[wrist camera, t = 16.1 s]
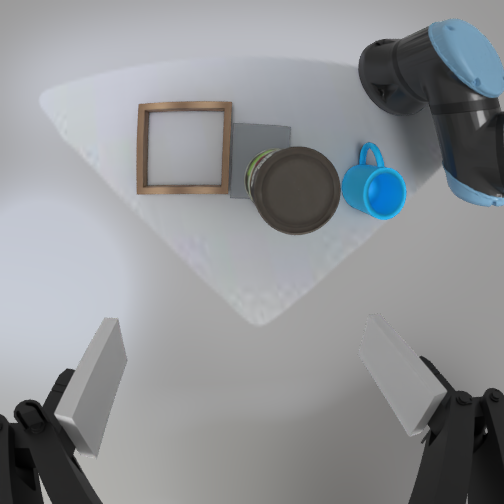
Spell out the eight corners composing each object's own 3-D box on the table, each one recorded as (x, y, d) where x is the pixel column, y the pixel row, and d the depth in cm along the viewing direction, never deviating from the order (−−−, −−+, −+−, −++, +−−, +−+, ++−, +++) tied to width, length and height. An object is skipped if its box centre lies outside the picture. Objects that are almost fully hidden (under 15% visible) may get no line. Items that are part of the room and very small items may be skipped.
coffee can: (230, 182, 45) (234, 195, 32) (274, 135, 43) (297, 127, 30) (277, 224, 48) (299, 252, 35) (319, 179, 46) (357, 190, 33)
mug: (382, 206, 50) (406, 216, 42) (343, 212, 49) (364, 223, 41) (377, 141, 45) (403, 141, 38) (337, 143, 45) (358, 143, 37)
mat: (289, 127, 43) (290, 126, 43) (285, 199, 47) (286, 199, 47) (233, 123, 42) (233, 123, 42) (230, 197, 46) (230, 198, 46)
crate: (231, 105, 41) (231, 102, 38) (227, 191, 46) (228, 193, 43) (143, 106, 40) (138, 104, 37) (141, 191, 44) (136, 194, 41)
